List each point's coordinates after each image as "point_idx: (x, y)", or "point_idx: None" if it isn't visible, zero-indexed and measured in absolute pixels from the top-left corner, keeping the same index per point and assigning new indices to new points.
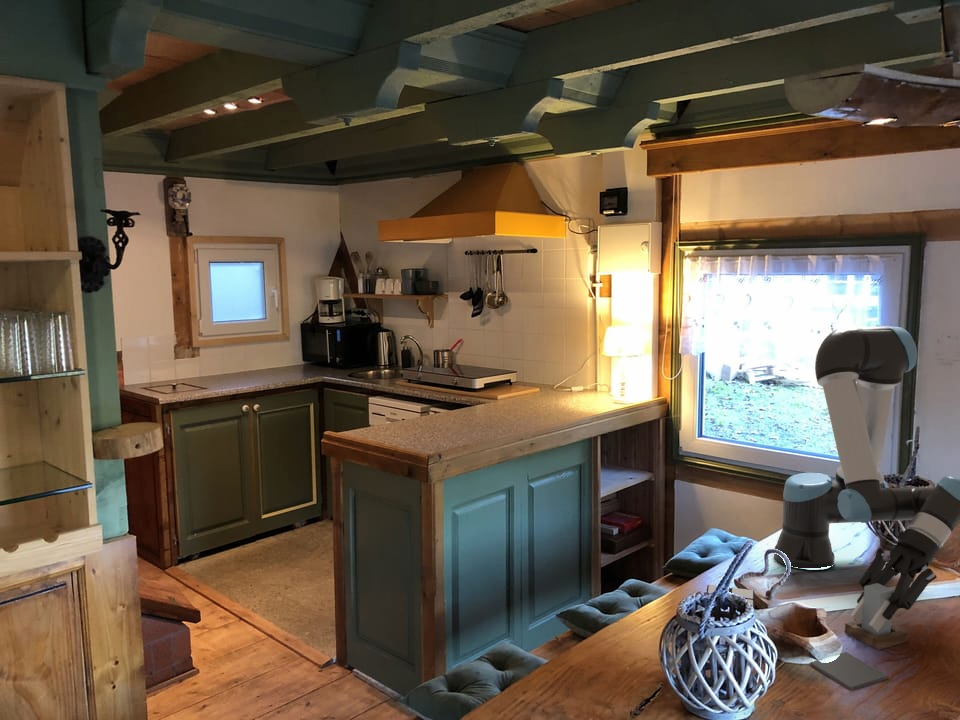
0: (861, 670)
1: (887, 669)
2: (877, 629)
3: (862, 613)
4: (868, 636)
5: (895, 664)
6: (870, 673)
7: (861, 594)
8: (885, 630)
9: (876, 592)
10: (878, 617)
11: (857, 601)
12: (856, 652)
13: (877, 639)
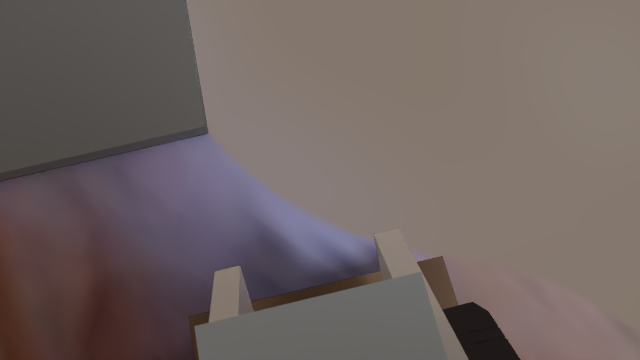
0: (42, 96)
1: (30, 240)
2: None
3: None
4: (265, 299)
5: (51, 315)
6: (7, 118)
7: (514, 355)
8: None
9: (248, 315)
10: None
11: (474, 307)
12: (214, 194)
13: (207, 321)
